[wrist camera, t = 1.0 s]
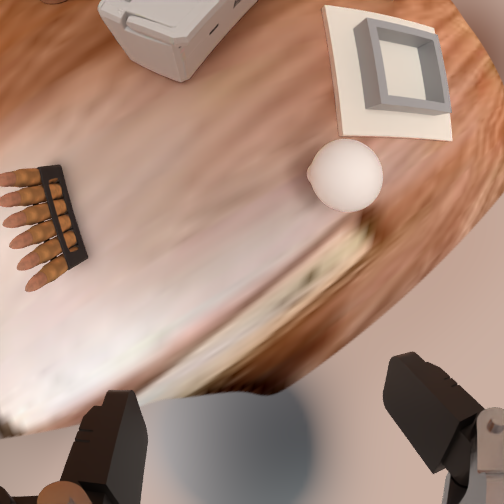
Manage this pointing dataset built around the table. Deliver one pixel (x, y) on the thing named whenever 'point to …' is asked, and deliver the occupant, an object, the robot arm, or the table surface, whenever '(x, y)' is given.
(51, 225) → the ammunition clip
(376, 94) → the socket base
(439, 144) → the table surface
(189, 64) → the stereo radio cassette player
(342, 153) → the lightbulb
